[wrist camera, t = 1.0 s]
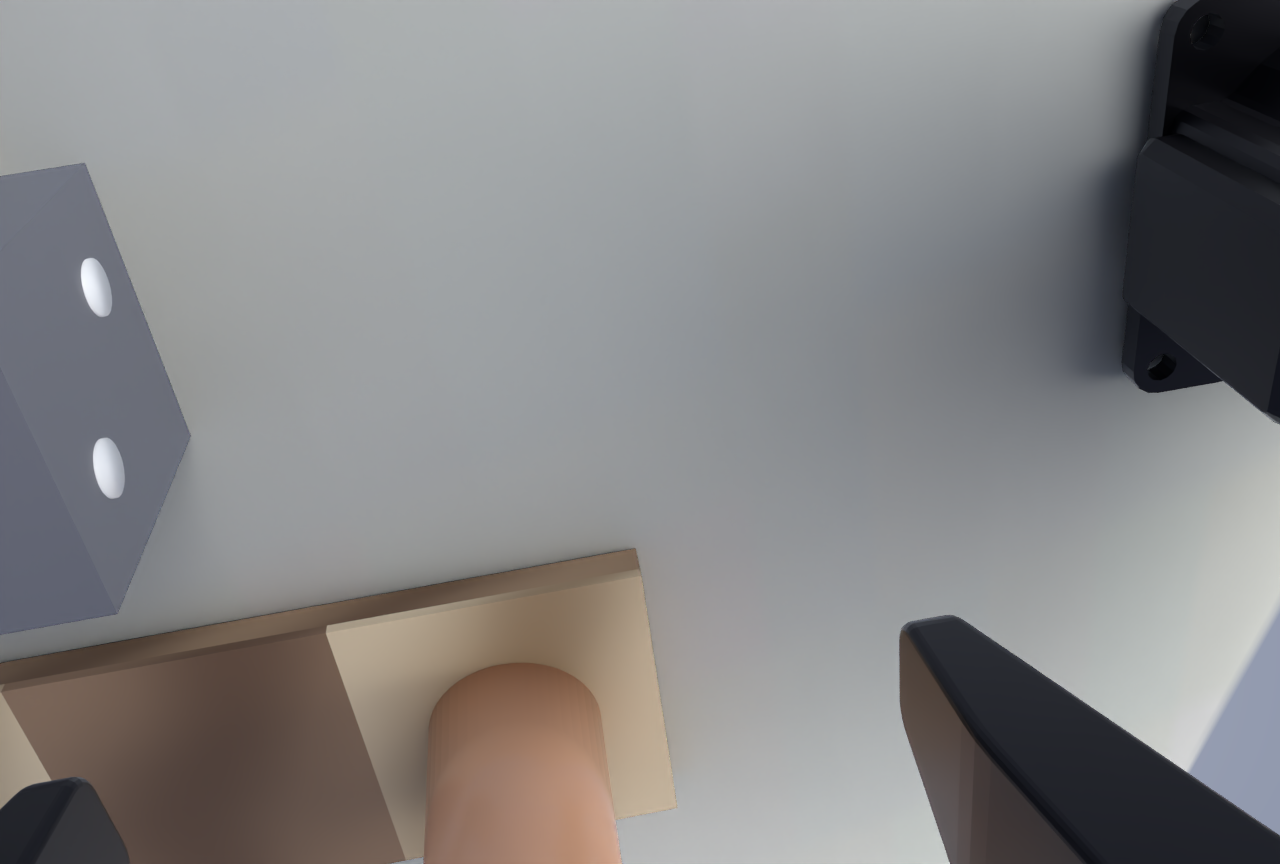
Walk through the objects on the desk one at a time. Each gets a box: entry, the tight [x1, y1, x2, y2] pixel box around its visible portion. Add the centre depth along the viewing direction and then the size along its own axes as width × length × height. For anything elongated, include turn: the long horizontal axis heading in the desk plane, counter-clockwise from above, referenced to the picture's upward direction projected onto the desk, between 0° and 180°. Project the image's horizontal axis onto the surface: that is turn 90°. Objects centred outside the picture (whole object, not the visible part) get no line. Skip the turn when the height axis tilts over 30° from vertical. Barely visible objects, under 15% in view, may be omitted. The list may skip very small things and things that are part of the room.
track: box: [0, 549, 677, 864], centre depth 21 cm, size 22×6×1 cm, turn 97°
